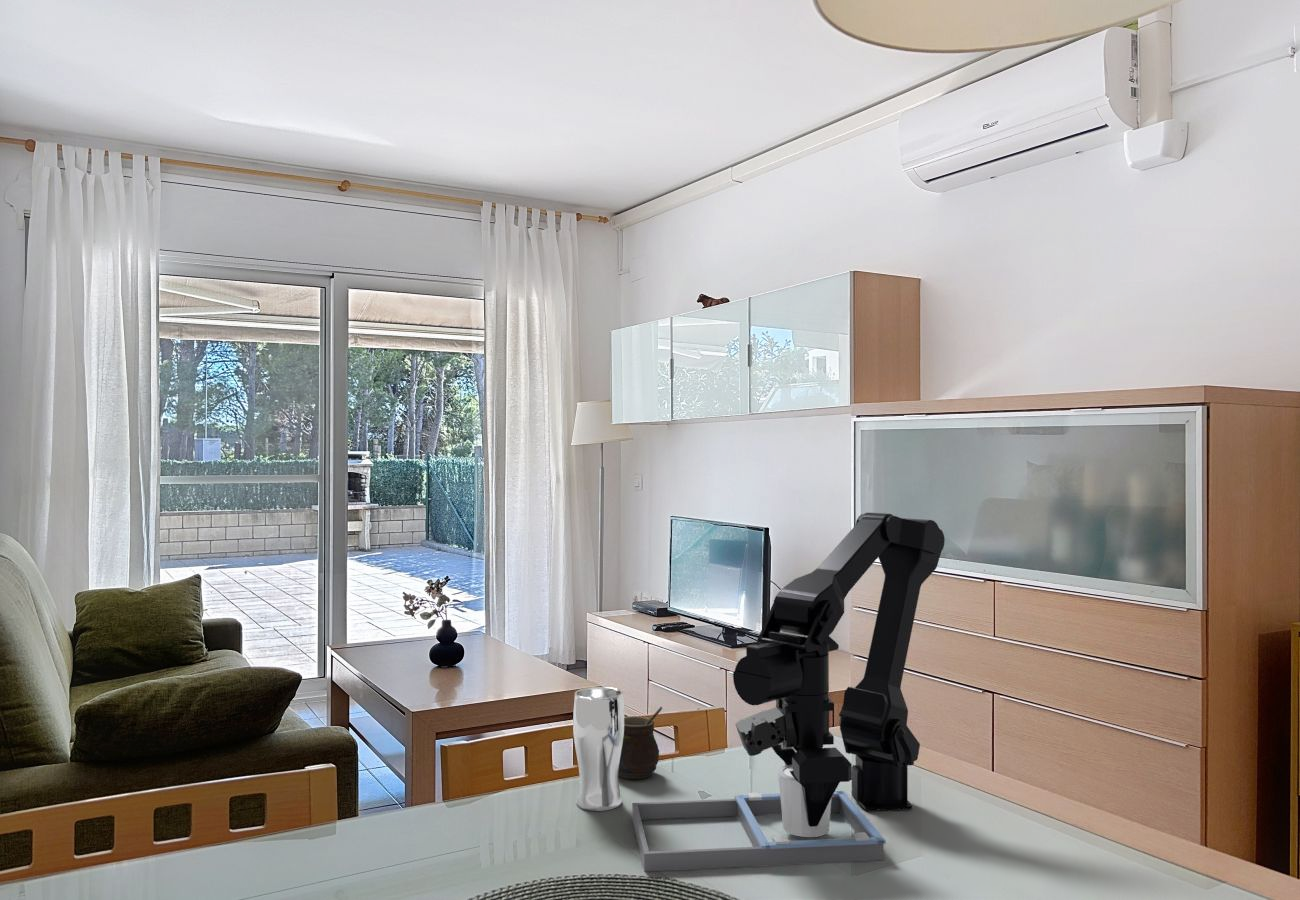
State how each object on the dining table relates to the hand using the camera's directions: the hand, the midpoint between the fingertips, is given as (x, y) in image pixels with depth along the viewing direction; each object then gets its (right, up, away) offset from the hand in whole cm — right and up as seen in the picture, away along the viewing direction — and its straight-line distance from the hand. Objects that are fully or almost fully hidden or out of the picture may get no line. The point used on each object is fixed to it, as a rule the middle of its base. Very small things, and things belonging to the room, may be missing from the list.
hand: (805, 815), depth 122 cm
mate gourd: (-21, -3, +23) cm, 31 cm away
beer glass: (-26, -3, +11) cm, 29 cm away
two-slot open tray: (-7, -3, -1) cm, 7 cm away
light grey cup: (0, -2, 0) cm, 2 cm away
